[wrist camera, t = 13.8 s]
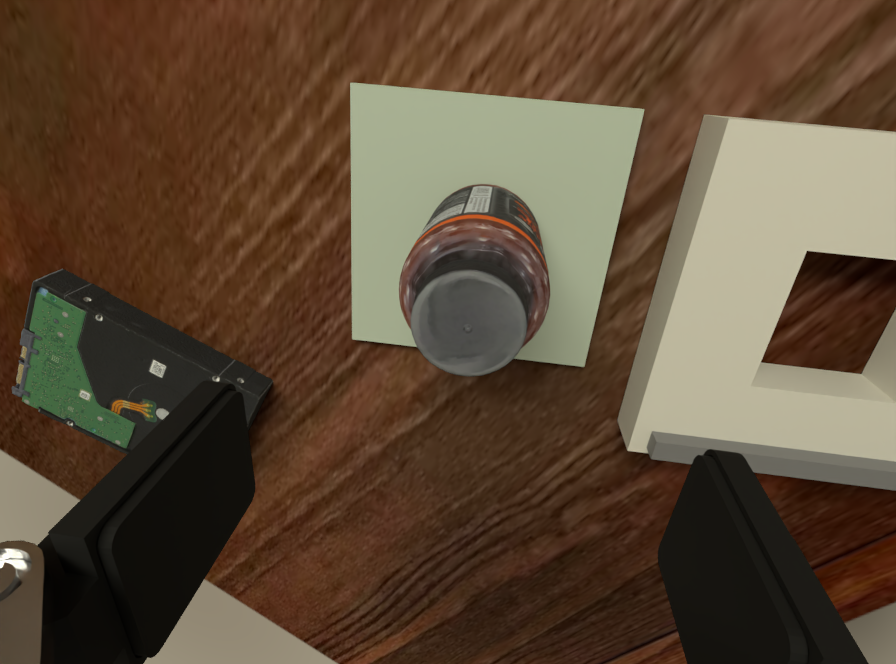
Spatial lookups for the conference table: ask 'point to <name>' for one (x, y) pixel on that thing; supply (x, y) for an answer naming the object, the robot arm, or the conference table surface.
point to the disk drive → (114, 363)
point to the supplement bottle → (476, 281)
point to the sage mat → (495, 163)
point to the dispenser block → (766, 306)
